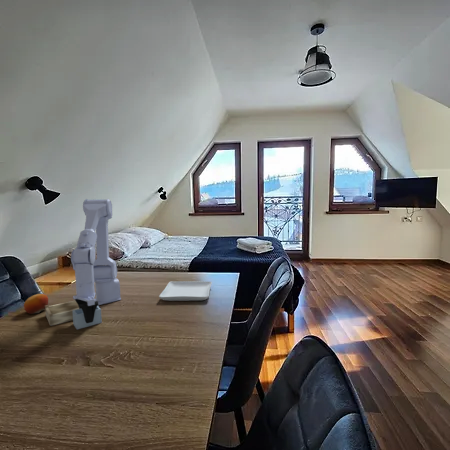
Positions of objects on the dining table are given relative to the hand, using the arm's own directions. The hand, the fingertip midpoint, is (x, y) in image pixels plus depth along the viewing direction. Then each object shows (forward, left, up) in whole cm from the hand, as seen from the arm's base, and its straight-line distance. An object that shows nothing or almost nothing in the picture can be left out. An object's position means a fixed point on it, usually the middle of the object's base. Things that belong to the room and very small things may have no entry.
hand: (87, 319), depth 97 cm
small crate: (0, 0, -1) cm, 1 cm away
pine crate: (+3, -12, -1) cm, 13 cm away
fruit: (+12, -25, -2) cm, 28 cm away
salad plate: (-43, -2, -2) cm, 43 cm away
